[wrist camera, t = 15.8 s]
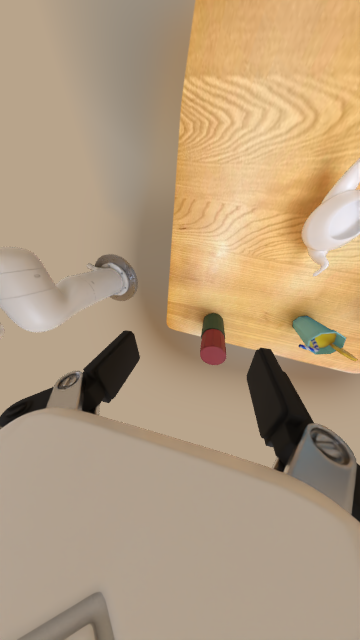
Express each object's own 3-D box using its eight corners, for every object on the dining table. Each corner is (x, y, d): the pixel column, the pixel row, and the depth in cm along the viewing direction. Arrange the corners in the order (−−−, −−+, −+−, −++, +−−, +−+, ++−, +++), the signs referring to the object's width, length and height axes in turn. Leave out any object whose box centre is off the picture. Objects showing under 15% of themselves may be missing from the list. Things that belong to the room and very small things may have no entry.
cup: (270, 327, 45) (292, 359, 32) (282, 307, 41) (312, 335, 28) (315, 336, 43) (357, 374, 30) (331, 316, 39) (388, 350, 26)
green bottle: (200, 323, 51) (195, 349, 38) (210, 309, 47) (209, 333, 34) (215, 332, 51) (215, 361, 38) (227, 319, 47) (231, 347, 35)
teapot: (279, 272, 36) (296, 279, 28) (307, 171, 27) (346, 140, 19) (320, 270, 34) (352, 278, 26) (368, 159, 24) (441, 119, 16)
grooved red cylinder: (198, 339, 42) (195, 357, 35) (210, 325, 38) (210, 341, 32) (215, 349, 43) (215, 368, 36) (229, 336, 39) (232, 355, 32)
